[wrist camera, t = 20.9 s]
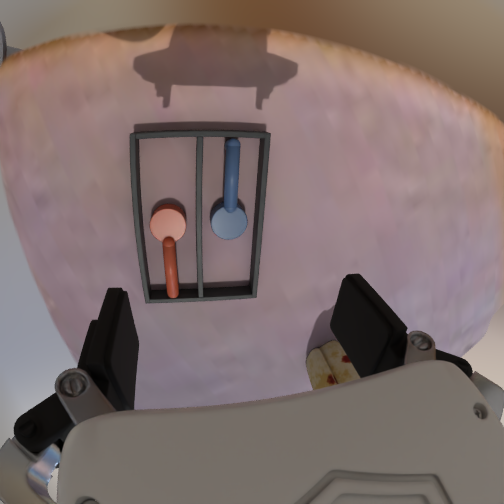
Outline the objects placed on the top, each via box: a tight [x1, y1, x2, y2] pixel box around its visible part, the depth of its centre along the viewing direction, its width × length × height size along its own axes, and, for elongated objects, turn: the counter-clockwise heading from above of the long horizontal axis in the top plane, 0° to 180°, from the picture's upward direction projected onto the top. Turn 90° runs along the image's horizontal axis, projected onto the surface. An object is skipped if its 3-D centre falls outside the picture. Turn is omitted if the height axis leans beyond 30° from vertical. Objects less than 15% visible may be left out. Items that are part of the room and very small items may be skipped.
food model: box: [306, 340, 360, 390], centre depth 40 cm, size 10×7×20 cm
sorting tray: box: [130, 130, 271, 303], centre depth 31 cm, size 14×20×3 cm
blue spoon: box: [210, 138, 247, 240], centre depth 30 cm, size 4×11×3 cm, turn 176°
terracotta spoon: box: [150, 204, 186, 298], centre depth 31 cm, size 4×11×3 cm, turn 176°
